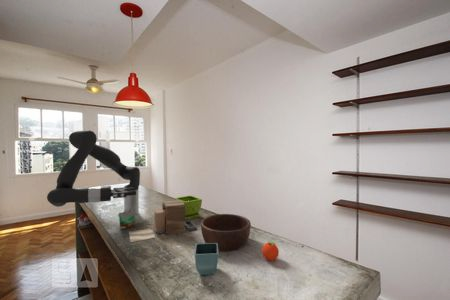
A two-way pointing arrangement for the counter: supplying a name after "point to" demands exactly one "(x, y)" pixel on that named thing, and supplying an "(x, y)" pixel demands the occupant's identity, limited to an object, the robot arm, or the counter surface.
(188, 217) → the flower pot
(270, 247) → the clementine
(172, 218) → the tunnel
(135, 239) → the pad
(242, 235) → the wooden bowl
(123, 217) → the food container
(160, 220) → the tall wood-grain block
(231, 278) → the counter surface
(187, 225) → the pit tray
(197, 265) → the flower pot
